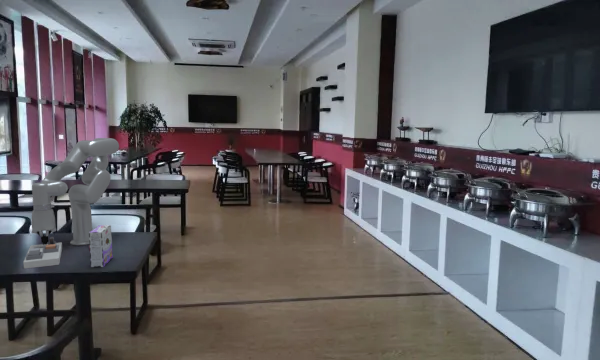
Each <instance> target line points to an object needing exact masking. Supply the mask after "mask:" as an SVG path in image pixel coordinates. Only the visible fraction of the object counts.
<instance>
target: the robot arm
mask: <svg viewBox="0 0 600 360" xmlns="http://www.w3.org/2000/svg"><path fill="white" fill-rule="evenodd" d="M119 149H120V143H119V141H117V140H116V139H115V138H110V137H97V138H94V139H93V140H79V141H78V142H77V143H76V144H75V145H74V146H73V148H72V149H71V151H70V152H69V153H68V154H67V156H66V157H65V158H64V160H63V161H62V162H60V163H59V164H57V165H56V166H55V167H53V168H52V169H50V170H49V172H47V173H46V175H45V176H44V177H43V180H42V181H41V182H35V183H32V185H31V192H32V205H33V210H32V212H31V234H33V235H34V234H35V235H38V236H39V237H40V239H41V240H40V241H41V242H40V244H41V243H42V244H43V245H44V244H48V243H49V235H50V234H51V233H54V232H56V231H57V227H56V224H57V223H56V217H55V212H54V209H53V208H55V204H52V200H51V197H61V196H63V195H65V194H67V195H68V199H69V203H70V208H71V223H72V236H73V237H72V239H71V240H70V245H72V246H85V245H89V232H90V231H92V230H93V221H92V220H93V219H92V218H93V217H92V216H93V215H92V207H91V204H95V203H97V202H98V201H99V200H100V199H101V197H103V194H104V193H105V191H106V190H107V189H108V186H109V185H110V183H111V174H110V172H109V171H108V170H107V168H108V165H109V159H108V158H109V157H108V155H109V156H110V155H113V154H116V153H117V152H118V150H119ZM89 157H92V159H91V161H90V163H89V164H88V166H87V168H85V170H84V172H83V174H82V175H81V181H82V182H83V184H81V183H80V184H74V185H72V186H71V187H70V188H69V187H68V184H67V183H66V182H64V181H62V179H63V178H65V177H67V176H69V175H72V174H74V173H76V172H78V171H79V170H80V169H81V168H82V167H83V165H84V163H85V162H86V160H87V159H88V158H89ZM68 188H69V189H68ZM67 192H68V193H67ZM44 231H45V234H44Z"/></svg>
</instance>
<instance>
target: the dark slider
mask: <svg viewBox="0 0 600 360" xmlns="http://www.w3.org/2000/svg"><path fill="white" fill-rule="evenodd" d="M56 243H57V242H56V240H55V239H54V236H49V240H48V242H47V244H48V245H51V244H56Z"/></svg>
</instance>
